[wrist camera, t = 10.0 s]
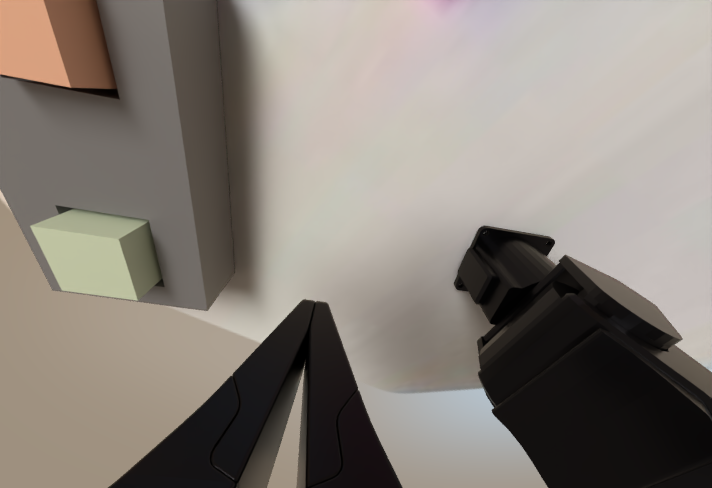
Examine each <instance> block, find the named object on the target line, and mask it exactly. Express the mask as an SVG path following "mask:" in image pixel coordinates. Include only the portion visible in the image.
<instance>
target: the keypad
mask: <svg viewBox="0 0 712 488" xmlns="http://www.w3.org/2000/svg"><path fill="white" fill-rule="evenodd" d="M96 1H97V6H98V10H99V14H100V18H101V22H102V27H103V31H104V35H105V39H106V43H107V48H108V52H109V56H110V60H111V64H112V68H113V73H114V77H115V81H116V85H117V89H98V88H70V87H65V86H60V85H54V84H49V83H44V82H39V81H33V80H28V79H23V78H18V77H12V76H7V75H2V74H0V189H1V191H2V193H3V195H4V197H5V199H6V201H7V203H8V205H9V207H10V209H11V211H12V213H13V215H14V216H15V218H16V220H17V222H18V224H19V226H20V228H21V230H22V232H23V234H24V236H25V238H26V240H27V242H28V244H29V246H30V247H31V250H32V251H33V253H34V255H35V257H36V259H37V261H38V263H39V265H40V267H41V269H42V271H43V273H44V275H45V277H46V279H47V280H48V282H49V284H50V286H51V288H52V290H54V291H62V290H61V288H60V286H59V284H58V282H57V280H56V278H55V276H54V274H53V272H52V270H51V267H50V265H49V263H48V261H47V259H46V257H45V255H44V253H43V251H42V249H41V247H40V245H39V243H38V241H37V239H36V237H35V235H34V233H33V231H32V229H31V227H30V226H31V225H34V224H36V223H39V222H41V221H44V220H46V219H49V218H52V217H54V216H57V215H59V214H62V213H64V212H67V211H69V210H72V209H75V208H76V209H82V210H89V211H95V212H102V213H108V214H114V215H121V216H127V217H133V218H140V219H146V220H149V223H150V227H151V232H152V236H153V240H154V244H155V248H156V253H157V257H158V261H159V265H160V269H161V274H162V279H161V280H160V281H159V282H158V283H157V284H156V285H154V286H153V287H152V288H151V289H150V290H149V291H148V292H147V293H146V294H145V295H144V296H142V297H141V298H140V299H139V300H138V301H137V302H144V303H151V304H159V305H166V306H174V307H181V308H189V309H196V310H204V311H208V309H209V308H210V307H211V305H212V304H213V302H214V301H215V300H216V298H217V297H218V295H219V294H220V293H221V291H222V290H223V288H224V287H225V286H226V284H227V283H228V281H229V280H230V279H231V277H232V276H233V274H234V273H235V268H234V253H233V238H232V223H231V208H230V193H229V178H228V163H227V148H226V133H225V118H224V103H223V88H222V73H221V58H220V43H219V28H218V13H217V0H96ZM62 292H69V291H62ZM69 293H77V292H69ZM77 294H84V293H77ZM84 295H92V294H84ZM92 296H99V295H92ZM99 297H107V296H99ZM107 298H114V297H107ZM114 299H121V300H129V299H122V298H114ZM129 301H136V300H129Z"/></svg>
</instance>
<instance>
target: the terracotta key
mask: <svg viewBox="0 0 712 488" xmlns="http://www.w3.org/2000/svg"><path fill="white" fill-rule="evenodd" d="M0 74H2V75H7V76H12V77H18V78H23V79H28V80H33V81H39V82H44V83H49V84H54V85H60V86H65V87H70V88H98V89H117V85H116V81H115V77H114V73H113V68H112V64H111V60H110V56H109V52H108V48H107V43H106V39H105V35H104V31H103V27H102V22H101V18H100V14H99V10H98V6H97V1H96V0H0Z"/></svg>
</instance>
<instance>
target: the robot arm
mask: <svg viewBox="0 0 712 488" xmlns="http://www.w3.org/2000/svg"><path fill="white" fill-rule="evenodd" d="M484 231H487V232H486V233H485V234H483V232H484ZM548 241H549V242H548ZM547 242H548V243H547ZM546 243H547V244H546ZM554 244H555V241H554V239H552V238H551V237H549V236H543V235H537V234H531V233H525V232H519V231H514V230H508V229H502V228H496V227H490V226H482V227H481V228H479V230H478V232H477V234H476V236H475V238H474V240H473V243H472V245H471V247H470V248H469V249H468V250H467V252H466V255H465V257H464V259H463V261H462V264H461V266H460V268H459V270H458V275H457V278H456V280H455V282H454V286H455V288H456V289H457V290H462V291H469V293H470V295H471V297H472V298H473V300H474V302H475V303H476V304H479V305H480V306H481V308H482V310H483V312H484V313H485V315H486V317H487V318H488V320H489V322H490V324H493V325H495V326H494V327H493V328H492V329H491V330H490V331H489V332H488V333H487V334H486V335H485V336H482V337H481V338H480V339H479V340H478V341H477V345H478V352H479V363H480V369H481V370H480V371H479V372H478V376H479V379H480V381H481V384H482V386H483V388H484V390H485V392H486V395H487V397H488V399H489V400H490V402H491V403H492V405H493V406H494V409H492V413H493V414H494V416H495V417H497V419H498V420H499V421H500V422H501V423H502V424H503V425H504V426H505V427H506V428H507V429H508V430H509V431H510V432H511V433H512V434H513V436H514V437H515V438H516V440H517V441H518V442H519V443H520V445H521V446H522V447H523V449H524V450H525V452H526V453H527V455H528V456H529V458H530V459H531V461H532V462H533V464H534V465H535V467H536V469H537V470H538V472H539V474H540V475H541V477H542V478H543V480H544V481H545V483H546V485H547V487H548V488H712V372H711V371H709V370H708V369H706V368H705V367H704V366H702V365H701V364H700V363H698V362H697V361H696V360H694V359H693V358H692V357H690V356H689V355H687V354H686V353H685V352H683V351H682V350H681V349H679V348H678V347H677V346H675V345H674V344H676V343H678V342H679V341H681V340H682V337H681V335H680V334H679V333H678V332H677V331H676V329H675V328H674V327H673V326H672V324H671V323H670V322H669V321H668V320H667V318H666V317H665V316H664V315H663V314H662V312H661V311H660V310H659V309H658V307H657V306H656V305H654V304H653V303H652V302H650V301H649V300H647V299H646V298H644V297H643V296H641V295H640V294H638V293H637V292H635V291H633V290H632V289H630V288H629V287H627V286H626V285H624V284H623V283H621V282H620V281H618V280H616V279H614V278H612V277H610V276H608V275H606V274H604V273H602V272H600V271H598V270H596V269H594V268H592V267H590V266H588V265H586V264H584V263H582V262H580V261H577V260H575V259H573V258H571V257H569V256H567V255H564V256H563V257H562V258H561V259H560V260H559V262H560V263H559V264H558V265H555V264H554V263H553V262H552V261H551V260H550V259H548V258H547V255H548V254H549V252H550V251H551V249H552V247H553V246H554ZM459 284H461V285H459ZM304 365H305V369H304ZM303 369H304V381H303V396H302V413H301V427H300V444H299V458H298V474H297V488H402V486H401V484H400V482H399V480H398V478H397V475H396V473H395V471H394V469H393V468H392V465H391V463H390V461H389V459H388V458H387V455H386V453H385V451H384V449H383V447H382V445H381V443H380V441H379V438H378V436H377V434H376V432H375V430H374V428H373V425H372V423H371V421H370V418H369V416H368V413H367V411H366V408H365V405H364V403H363V400H362V397H361V395H360V392H359V391H358V387H357V384H356V381H355V378H354V375H353V372H352V370H351V367H350V364H349V361H348V358H347V355H346V353H345V350H344V347H343V344H342V341H341V339H340V336H339V333H338V330H337V327H336V325H335V322H334V319H333V316H332V313H331V310H330V308H329V305H328V303H326V302H320V301H317V302H315V301H313V300H306V299H304V300H302V301H301V302H300V303H299V304H298V305H297V306H296V307H295V308H294V310H293V311H292V312H291V313H290V314H289V315H288V316H287V317H286V318H285V319H284V320H283V321H282V322H281V323H280V324H279V325H278V326H277V328H276V329H275V330H274V331H273V332H272V333H271V334H270V335H269V336H268V337H267V338H266V339H265V340H264V341H263V342H262V343H261V345H260V346H259V347H258V348H257V349H256V350H255V351H254V352H253V353H252V354H251V355H250V356H249V357H248V358H247V359H246V360H245V362H243V364H242V365H241V366H240V367H239V368H238V369H237V370H236V371H235V372H234V373H233V376H230V377H229V378H228V379H227V380H226V381H225V383H223V385H222V386H221V387H220V388H219V389H218V390H217V391H216V392H215V393H214V394H213V395H212V396H211V397H210V398H209V399H208V400H207V401H206V402H205V403H204V404H203V405H202V406H201V407H200V408H198V409H197V410H196V411H195V412H194V413H193V414H192V415H191V416H190V417H189V418H187V419H186V420H185V421H184V422H183V423H182V424H181V425H180V426H179V427H178V428H176V429H175V430H174V431H173V432H172V433H171V434H169V435H168V436H167V437H166V438H165V439H164V440H163V441H162V442H160V443H159V444H158V445H157V446H156V447H155V448H154V449H152V450H151V451H150V452H149V453H148V454H147V455H146V456H144V458H142V459H141V460H140V461H139V462H138V463H137V464H135V465H134V466H133V467H132V468H131V469H130V470H129V471H128V472H126V473H125V474H124V475H123V476H122V477H121V478H119V479H118V480H117V481H116V482H115V483H113V484H112V485H111V486H109V487H108V488H267V485H268V482H269V479H270V476H271V472H272V469H273V466H274V463H275V459H276V457H277V453H278V450H279V447H280V444H281V441H282V437H283V434H284V431H285V428H286V424H287V421H288V418H289V415H290V412H291V408H292V405H293V402H294V399H295V395H296V392H297V389H298V386H299V383H300V380H301V376H302V373H303Z"/></svg>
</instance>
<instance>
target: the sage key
mask: <svg viewBox="0 0 712 488" xmlns="http://www.w3.org/2000/svg"><path fill="white" fill-rule="evenodd" d="M30 227H31V229H32V231H33V233H34V235H35V237H36V239H37V241H38V243H39V245H40V247H41V249H42V251H43V253H44V255H45V257H46V259H47V261H48V263H49V265H50V267H51V270H52V272H53V274H54V276H55V278H56V280H57V282H58V284H59V286H60V288H61V290H62V291H69V292H77V293H84V294H92V295H99V296H107V297H114V298H122V299H129V300H136V301H138V300H139V299H140V298H141V297H142V296H144V295H145V294H146V293H147V292H148V291H149V290H150V289H151V288H152V287H153V286H154V285H156V284H157V283H158V282H159V281H160V280H161V279H162V274H161V269H160V265H159V261H158V257H157V253H156V248H155V244H154V240H153V236H152V232H151V227H150V223H149V220H146V219H140V218H133V217H127V216H121V215H114V214H108V213H102V212H95V211H89V210H82V209H76V208H75V209H72V210H69V211H67V212H64V213H62V214H59V215H57V216H54V217H52V218H49V219H46V220H44V221H41V222H39V223H36V224H34V225H31V226H30Z"/></svg>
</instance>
